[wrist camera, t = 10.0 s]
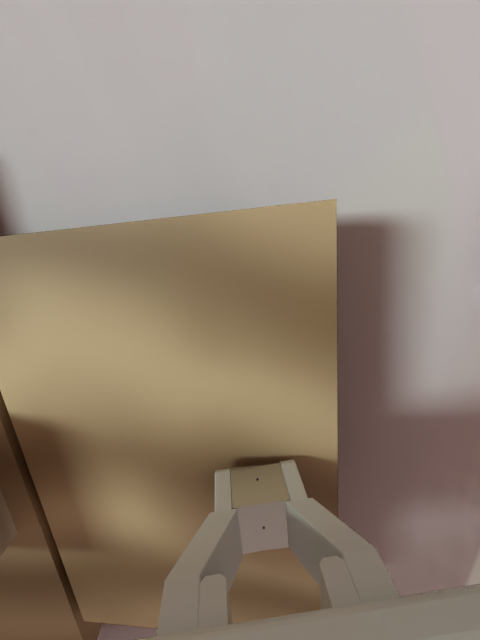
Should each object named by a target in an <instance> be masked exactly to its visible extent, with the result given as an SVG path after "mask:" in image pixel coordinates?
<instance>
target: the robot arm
mask: <svg viewBox="0 0 480 640" xmlns="http://www.w3.org/2000/svg"><path fill="white" fill-rule="evenodd" d="M287 547H289V549H290V550H291V552H292V553H293V554H294V555H295V556H296V558H297V559H298V560H299V561H300V563H301V564H302V565H303V566H304V567H305V569H306V570H307V571H308V572H309V574H310V575H311V576H312V577H313V579H314V580H315V581H316V582H317V583H318V585H319V586H320V598H321V610H315V611H309V612H303V613H297V614H291V615H285V616H279V617H272V618H266V619H260V620H254V621H248V622H242V623H236V624H233V621H232V614H231V607H230V601H229V594H228V593H229V590H230V588H231V585H232V583H233V580H234V578H235V575H236V573H237V571H238V568H239V566H240V563H241V561H242V558H243V554H247V553H252V552H258V551H263V550H270V549H278V548H287ZM136 640H480V584H476V585H470V586H463V587H457V588H451V589H445V590H438V591H432V592H426V593H420V594H414V595H408V596H401V597H400V595H399V593H398V591H397V589H396V587H395V585H394V583H393V581H392V579H391V577H390V575H389V573H388V571H387V569H386V567H385V565H384V563H383V561H382V559H381V557H380V555H379V553H378V551H377V549H376V548H375V547H373V546H372V545H371V544H370V543H368V542H367V541H366V540H365V539H363V538H362V537H361V536H360V535H358V534H357V533H356V532H355V531H353V530H352V529H351V528H350V527H348V526H347V525H346V524H345V523H343V522H342V521H341V520H340V519H338V518H337V517H336V516H335V515H333V514H332V513H331V512H330V511H328V510H327V509H326V508H325V507H323V506H322V505H321V504H320V503H318V502H317V501H316V500H315V499H313V498H308V497H307V494H306V491H305V488H304V485H303V482H302V480H301V477H300V474H299V471H298V468H297V465H296V462H295V461H294V460H287V461H280V462H275V463H268V464H261V465H254V466H246V467H237V468H230V469H222V470H216V471H215V512H210V513H209V515H208V516H207V518H206V519H205V521H204V522H203V524H202V525H201V527H200V528H199V530H198V531H197V533H196V534H195V536H194V537H193V539H192V540H191V542H190V543H189V545H188V546H187V548H186V549H185V551H184V552H183V554H182V555H181V557H180V558H179V560H178V561H177V563H176V564H175V566H174V567H173V569H172V570H171V572H170V573H169V575H168V576H167V578H166V579H165V582H164V588H163V595H162V601H161V608H160V614H159V621H158V627H157V634H156V636H154V637H148V638H142V639H136Z"/></svg>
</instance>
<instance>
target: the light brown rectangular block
mask: <svg viewBox="0 0 480 640" xmlns="http://www.w3.org/2000/svg"><path fill="white" fill-rule="evenodd" d="M100 627H101V623H97V622H87V621H84V620H83V617H82V614H81V611H80V609H79V606H78V603H77V600H76V598H75V595H74V592H73V589H72V587H71V584H70V581H69V578H68V576H67V573H66V570H65V567H64V564H63V562H62V559H61V556H60V553H59V551H58V548H57V545H56V542H55V540H54V537H53V534H52V531H51V529H50V526H49V523H48V520H47V518H46V515H45V512H44V509H43V507H42V504H41V501H40V498H39V496H38V493H37V490H36V487H35V485H34V482H33V479H32V476H31V474H30V471H29V468H28V465H27V462H26V460H25V457H24V454H23V451H22V449H21V446H20V443H19V440H18V438H17V435H16V432H15V429H14V427H13V424H12V421H11V418H10V416H9V413H8V410H7V407H6V405H5V402H4V399H3V396H2V394H1V391H0V640H97V637H98V634H99V630H100Z"/></svg>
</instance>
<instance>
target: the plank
mask: <svg viewBox="0 0 480 640" xmlns="http://www.w3.org/2000/svg"><path fill="white" fill-rule="evenodd" d="M0 391H1V394H2V396H3V399H4V402H5V405H6V407H7V410H8V413H9V416H10V418H11V421H12V424H13V427H14V429H15V432H16V435H17V438H18V440H19V443H20V446H21V449H22V451H23V454H24V457H25V460H26V462H27V465H28V468H29V471H30V474H31V476H32V479H33V482H34V485H35V487H36V490H37V493H38V496H39V498H40V501H41V504H42V507H43V509H44V512H45V515H46V518H47V520H48V523H49V526H50V529H51V531H52V534H53V537H54V540H55V542H56V545H57V548H58V551H59V553H60V556H61V559H62V562H63V564H64V567H65V570H66V573H67V576H68V578H69V581H70V584H71V587H72V589H73V592H74V595H75V598H76V600H77V603H78V606H79V609H80V611H81V614H82V617H83V620H84V621H87V622H97V623H107V624H117V625H127V626H136V627H146V628H156V629H157V627H158V621H159V614H160V608H161V601H162V595H163V588H164V582H165V579H166V578H167V576H168V575H169V573H170V572H171V570H172V569H173V567H174V566H175V564H176V563H177V561H178V560H179V558H180V557H181V555H182V554H183V552H184V551H185V549H186V548H187V546H188V545H189V543H190V542H191V540H192V539H193V537H194V536H195V534H196V533H197V531H198V530H199V528H200V527H201V525H202V524H203V522H204V521H205V519H206V518H207V516H208V515H209V513H210V512H215V471H216V470H222V469H230V468H237V467H246V466H254V465H261V464H268V463H275V462H280V461H287V460H294V461H295V462H296V465H297V468H298V471H299V474H300V477H301V480H302V482H303V485H304V488H305V491H306V494H307V497H308V498H313V499H315V500H316V501H317V502H318V503H320V504H321V505H322V506H323V507H325V508H326V509H327V510H328V511H330V512H331V513H332V514H333V515H335V516H336V517H337V518H338V426H337V224H336V199H332V200H323V201H314V202H305V203H296V204H287V205H278V206H269V207H260V208H251V209H242V210H233V211H224V212H215V213H206V214H197V215H188V216H179V217H170V218H162V219H153V220H144V221H135V222H126V223H117V224H108V225H99V226H90V227H81V228H72V229H63V230H54V231H45V232H36V233H27V234H18V235H9V236H0ZM228 594H229V601H230V607H231V614H232V621H233V624H236V623H242V622H248V621H254V620H260V619H266V618H272V617H279V616H285V615H291V614H297V613H303V612H309V611H315V610H321V598H320V586H319V585H318V583H317V582H316V581H315V580H314V579H313V577H312V576H311V575H310V574H309V572H308V571H307V570H306V569H305V567H304V566H303V565H302V564H301V563H300V561H299V560H298V559H297V558H296V556H295V555H294V554H293V553H292V552H291V550H290V549H289V547H287V548H278V549H270V550H263V551H258V552H252V553H247V554H243V558H242V561H241V563H240V566H239V568H238V571H237V573H236V575H235V578H234V580H233V583H232V585H231V588H230V590H229V593H228Z"/></svg>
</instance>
